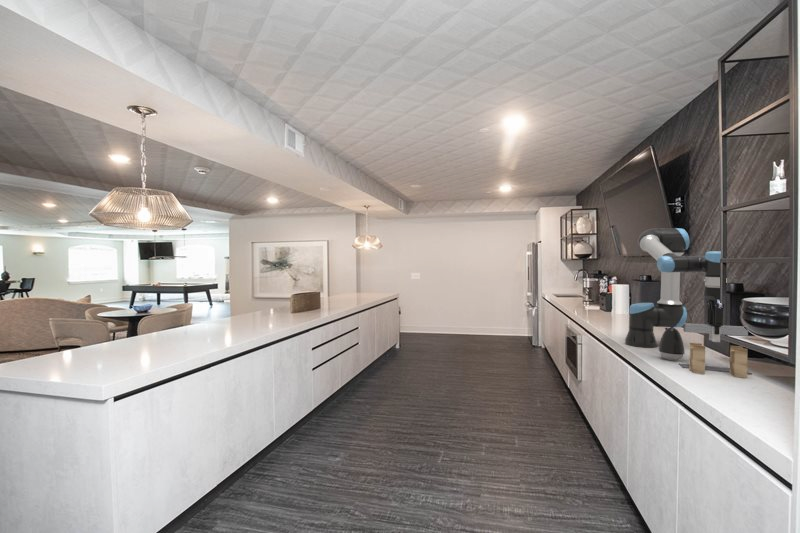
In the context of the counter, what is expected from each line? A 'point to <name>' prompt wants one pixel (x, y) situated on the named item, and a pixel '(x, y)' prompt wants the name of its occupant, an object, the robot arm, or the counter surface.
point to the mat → (711, 368)
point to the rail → (708, 329)
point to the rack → (736, 360)
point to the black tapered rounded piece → (671, 345)
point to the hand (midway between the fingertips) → (714, 340)
